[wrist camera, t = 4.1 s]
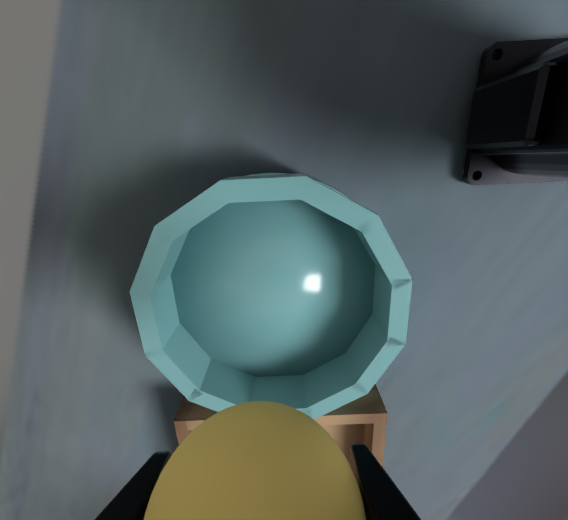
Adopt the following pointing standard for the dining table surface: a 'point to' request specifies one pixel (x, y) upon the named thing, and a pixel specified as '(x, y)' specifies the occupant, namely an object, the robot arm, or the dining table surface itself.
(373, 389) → the tray
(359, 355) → the bowl
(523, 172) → the robot arm
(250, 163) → the dining table surface
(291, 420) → the ball
